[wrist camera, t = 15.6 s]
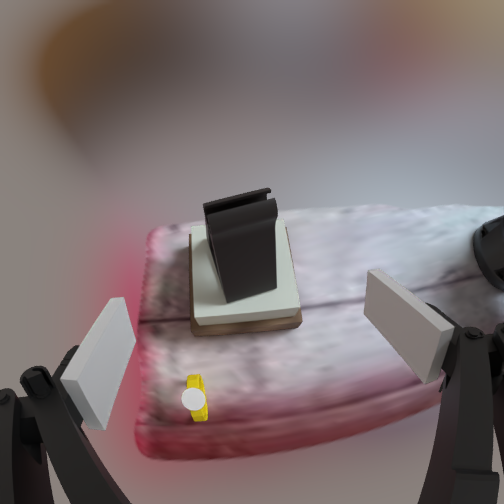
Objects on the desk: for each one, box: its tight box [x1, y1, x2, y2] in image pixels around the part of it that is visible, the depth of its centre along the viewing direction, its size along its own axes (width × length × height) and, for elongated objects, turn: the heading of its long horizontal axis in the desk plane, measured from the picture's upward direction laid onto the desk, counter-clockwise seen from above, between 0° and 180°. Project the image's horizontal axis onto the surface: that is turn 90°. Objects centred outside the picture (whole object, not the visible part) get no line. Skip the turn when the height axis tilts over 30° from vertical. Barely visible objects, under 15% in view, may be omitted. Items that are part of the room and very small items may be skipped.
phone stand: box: [203, 188, 278, 303], centre depth 30 cm, size 9×6×12 cm, turn 18°
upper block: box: [191, 219, 300, 326], centre depth 37 cm, size 12×12×4 cm
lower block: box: [189, 227, 303, 336], centre depth 41 cm, size 14×14×4 cm
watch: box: [182, 374, 208, 422], centre depth 32 cm, size 6×3×6 cm, turn 9°
